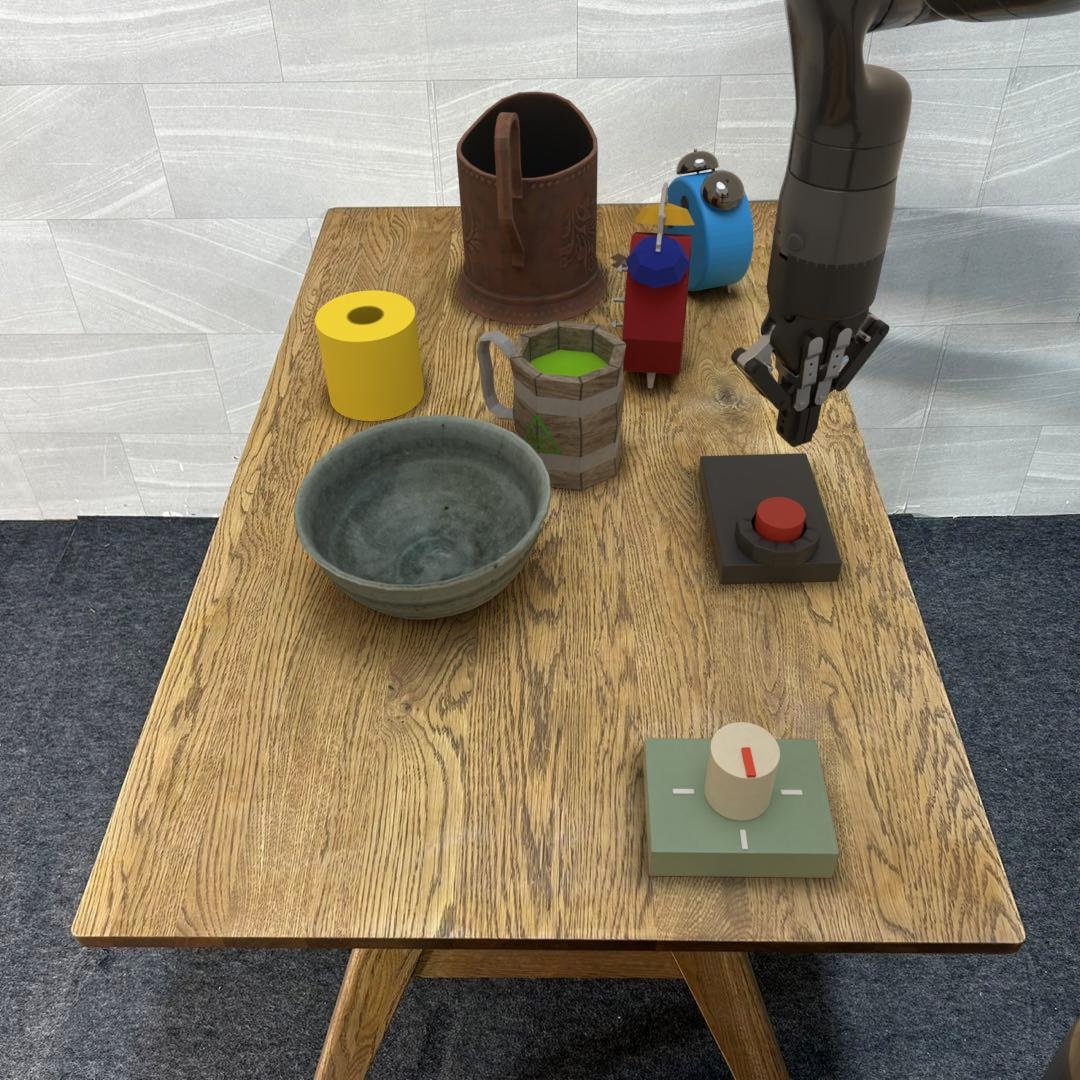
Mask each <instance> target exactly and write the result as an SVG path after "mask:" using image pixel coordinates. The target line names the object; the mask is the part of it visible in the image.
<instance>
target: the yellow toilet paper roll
mask: <svg viewBox="0 0 1080 1080" xmlns="http://www.w3.org/2000/svg"><path fill="white" fill-rule="evenodd" d="M314 323H315V327H316V333H317V339H318V344H319V349H320V355H321V360H322V366H323V371H324V375H325V380H326V386H327V392H328V396H329V401H330V404H331V406H332V408H333V409H334V410H335V411H336V412H337V413H338V414H340V415H342V416H343V417H345V418H348V419H351V420H355V421H362V422H380V421H386V420H391V419H394V418H397V417H400V416H402V415H405V414H407V413H409V412H410V411H411V410H413V409H415V408H416V407H417V406H418V405H419V404H420V402H421V401H422V400H423V398H424V395H425V384H424V383H425V382H424V375H423V367H422V360H421V359H422V358H421V349H420V342H419V334H418V325H417V324H418V323H417V315H416V308H415V306H414V304H413V303H412V302H411V301H410V299H408V298H406V297H405V296H404V295H400V294H398V293H396V292H391V291H385V290H372V289H371V290H360V291H354V292H350V293H346V294H345V293H344V294H342V295H340V296H337V297H335V298H332V299H330V300H329V301H328V302H326V303H325V304H324V305H322V306H321V307H320V308H319V309H318V310H317V313H316V315H315V317H314Z"/></svg>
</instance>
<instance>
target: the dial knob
mask: <svg viewBox="0 0 1080 1080" xmlns="http://www.w3.org/2000/svg"><path fill="white" fill-rule="evenodd" d="M711 739H712V740H711V745H710V752H709V759H708V766H707V773H706V780H705V787H704V791H705V796H706V799H707V801H708V803H709V805H710V806H711V807H712V808H713V809H714V810H715V811H716V812H717V813H718V814H720V815H722V816H724V817H726V818H728V819H732V820H737V821H746V820H751V819H754V818H756V817H758V816H760V815H761V814H763V813H764V812H765V811H766V809H767V808H768V806H769V803H770V800H771V795H772V791H773V786H774V782H775V777H776V773H777V768H778V764H779V759H780V749H779V746H778V743H777V741H776V740H775V739H776V738H775V737H774V736H773V735H772V734H771V733H770V732H769V731H768V730H767V729H765V728H763V727H762V726H760V725H758V724H754V723H751V722H745V721H737V722H732V723H728V724H725V725H723V726H721V727H720V728H719V729H718V730H717V731H716V732H714V734H713V736H712V738H711Z"/></svg>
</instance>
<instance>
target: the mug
mask: <svg viewBox="0 0 1080 1080" xmlns="http://www.w3.org/2000/svg"><path fill="white" fill-rule="evenodd" d="M491 342H492V343H493V344H494V345H495V346H496V347H498V348H499V349H500V350H501V352H502V353H503V355H504V356H505V358H506V359H507V360H508V361H509V363H510V367H511V373H512V383H513V384H512V385H513V399H512V401H513V402H512V407H506V406H504V404H502V403H501V402H500V400H499V398H498V395H497V393H496V387H495V377H494V365H493V360H492V355H491V351H490V347H491V346H490V345H491ZM625 349H626V343H625V342H623V341H622V338H619V336H617V335H616V334H614V333H613V332H611V331H610V330H609V329H607V328H606V327H604V326H603V325H602V324H599V323H590V322H589V323H588V322H578V321H577V322H576V321H566V320H563V321H554V322H551V323H545V324H542V325H541V326H538V327H535V328H533V329H529V330H527V331H524V332H521V333H519V334H518V336H517V339H516V342H515V343H514V342H513V340H512V339H511V338H510V337H509V336H508V335H506V334H504V333H503V332H502V331H501V330H493V331H487V332H485V333H482V334H481V336H480V338H479V340H478V343H477V348H476V355H477V360H478V361H477V362H478V366H479V373H480V384H481V385H480V386H481V392H482V398H483V400H484V402H485V404H486V407H487V409H488V411H489V412H490V413H492V414H493V415H494V416H495V417H497V418H498V419H500V420H507V421H513V422H514V429H515V434H516V435H517V436H518V437H520V438H521V439H522V440H524V441H525V442H526V443H527V444H529V445H530V446H531V447H532V449H533V450H534V451H535V452H536V453H537V454H538V456H539V457H540V458H541V459H542V461H543V463H544V465H545V468H546V470H547V472H548V474H549V477H550V485H551V488H555V489H557V488H558V489H565V490H573V491H583V490H585V489H588V488H590V487H592V486H595V485H597V484H599V483H601V482H603V481H606V480H608V479H610V478H613V477H614V476H617V474H618V471H619V467H620V462H621V458H622V454H623V450H624V447H623V437H622V422H623V421H622V419H623V411H624V402H625V392H624V391H625V389H624V371H623V361H624V355H625Z"/></svg>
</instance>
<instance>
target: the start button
mask: <svg viewBox="0 0 1080 1080" xmlns="http://www.w3.org/2000/svg"><path fill="white" fill-rule="evenodd" d="M804 521H805V511H804V509H803V507H802V506H801V505H800V504H798V503H797V502H795V501H793V500H791V499H788V498H783V497H773V498H768V499H766V500H764V501H762V502H761V503H760V504H759V506H758V508H757V513H756V519H755V529H756V531H757V533H758V534H759V535H760V536H761V537H762V538H764V539H766V540H769V541H773V542H776V543H788V542H792V541H795V540H797V539H798V538H799V537H800V536H801V534H802V531H803V526H804Z"/></svg>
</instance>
